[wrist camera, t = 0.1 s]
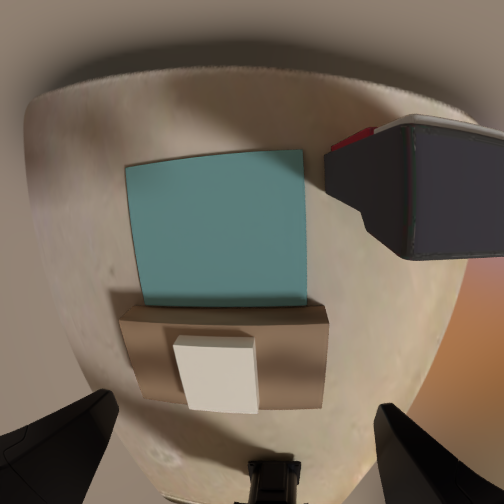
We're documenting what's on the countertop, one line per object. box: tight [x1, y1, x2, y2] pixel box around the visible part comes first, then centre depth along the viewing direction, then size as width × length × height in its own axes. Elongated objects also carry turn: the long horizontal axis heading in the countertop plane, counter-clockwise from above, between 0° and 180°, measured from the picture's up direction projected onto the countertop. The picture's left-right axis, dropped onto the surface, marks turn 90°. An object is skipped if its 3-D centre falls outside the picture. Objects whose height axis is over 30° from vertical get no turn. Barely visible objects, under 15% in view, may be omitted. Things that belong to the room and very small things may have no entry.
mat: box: [125, 150, 307, 307], centre depth 22 cm, size 12×14×1 cm
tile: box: [173, 335, 260, 414], centre depth 22 cm, size 7×6×2 cm
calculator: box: [324, 114, 504, 261], centre depth 13 cm, size 11×4×15 cm, turn 93°
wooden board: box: [119, 306, 329, 410], centre depth 24 cm, size 9×17×3 cm, turn 94°
